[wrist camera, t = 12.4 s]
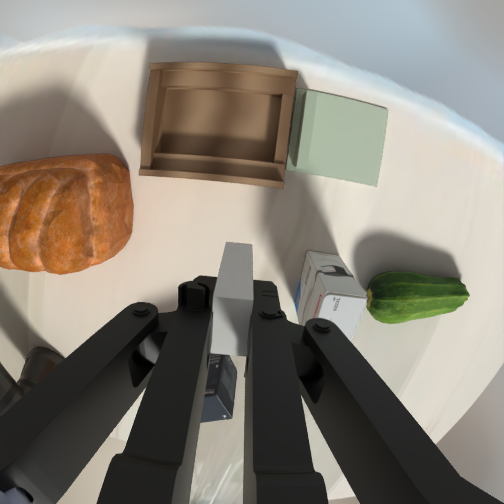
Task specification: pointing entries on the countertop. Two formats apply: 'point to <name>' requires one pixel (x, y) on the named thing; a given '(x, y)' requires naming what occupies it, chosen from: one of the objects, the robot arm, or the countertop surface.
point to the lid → (336, 137)
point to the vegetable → (413, 296)
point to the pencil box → (217, 122)
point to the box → (219, 389)
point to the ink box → (329, 293)
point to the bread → (64, 212)
